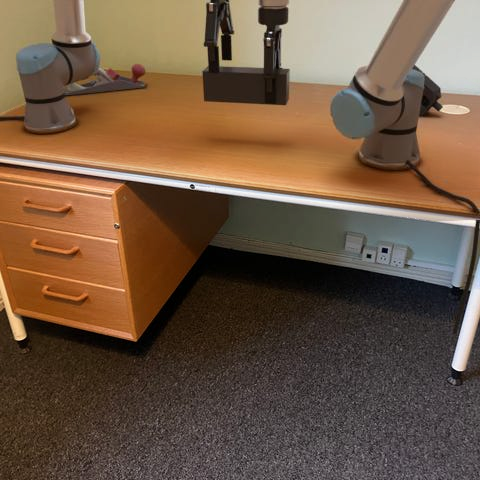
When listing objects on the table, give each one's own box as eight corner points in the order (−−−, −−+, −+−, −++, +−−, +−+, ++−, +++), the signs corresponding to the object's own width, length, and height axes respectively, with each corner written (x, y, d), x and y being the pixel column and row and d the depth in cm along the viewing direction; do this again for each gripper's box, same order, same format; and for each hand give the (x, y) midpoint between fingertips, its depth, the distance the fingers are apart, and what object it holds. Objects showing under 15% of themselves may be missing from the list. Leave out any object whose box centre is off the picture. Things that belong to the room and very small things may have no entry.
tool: (380, 92, 178) (407, 55, 167) (423, 130, 174) (453, 95, 163) (371, 97, 174) (398, 59, 163) (415, 136, 170) (446, 100, 159)
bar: (288, 99, 145) (289, 68, 140) (285, 105, 140) (286, 74, 136) (209, 95, 149) (207, 65, 145) (203, 101, 144) (202, 71, 140)
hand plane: (62, 90, 197) (53, 48, 189) (145, 82, 205) (140, 41, 197) (62, 96, 191) (54, 53, 184) (148, 87, 199) (143, 45, 191)
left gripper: (215, -28, 141) (218, 55, 152) (187, -17, 120) (193, 78, 132) (242, -28, 140) (244, 55, 151) (219, -17, 119) (223, 79, 130)
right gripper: (265, 0, 139) (264, 89, 151) (250, 12, 124) (251, 109, 136) (293, 1, 138) (290, 90, 150) (282, 13, 122) (280, 111, 135)
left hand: (220, 66), depth 141 cm, fingers open, 13 cm apart
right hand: (272, 99), depth 143 cm, fingers closed on bar, 6 cm apart
